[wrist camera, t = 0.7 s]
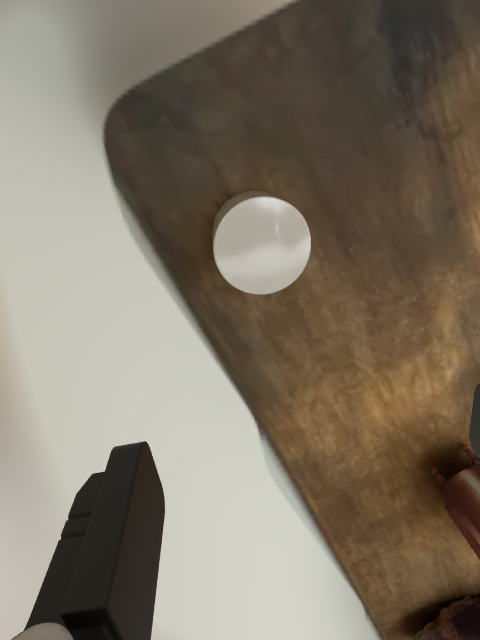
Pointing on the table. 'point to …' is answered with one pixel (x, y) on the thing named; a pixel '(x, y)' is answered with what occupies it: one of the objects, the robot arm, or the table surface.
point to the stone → (260, 242)
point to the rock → (455, 622)
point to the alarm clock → (464, 500)
